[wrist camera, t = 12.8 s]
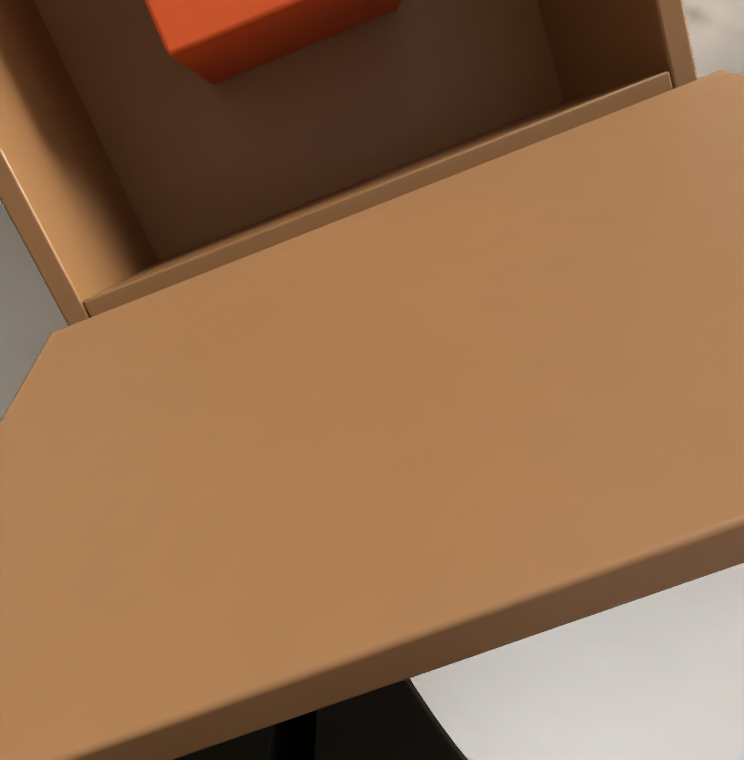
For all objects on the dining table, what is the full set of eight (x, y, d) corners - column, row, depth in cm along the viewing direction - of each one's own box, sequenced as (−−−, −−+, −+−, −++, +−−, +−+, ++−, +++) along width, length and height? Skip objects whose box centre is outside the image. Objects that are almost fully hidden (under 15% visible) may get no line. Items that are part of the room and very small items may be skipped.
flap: (721, 69, 10) (722, 97, 10) (50, 332, 10) (64, 352, 10) (1536, 244, 3) (1489, 308, 4) (-263, 873, 4) (-211, 894, 4)
